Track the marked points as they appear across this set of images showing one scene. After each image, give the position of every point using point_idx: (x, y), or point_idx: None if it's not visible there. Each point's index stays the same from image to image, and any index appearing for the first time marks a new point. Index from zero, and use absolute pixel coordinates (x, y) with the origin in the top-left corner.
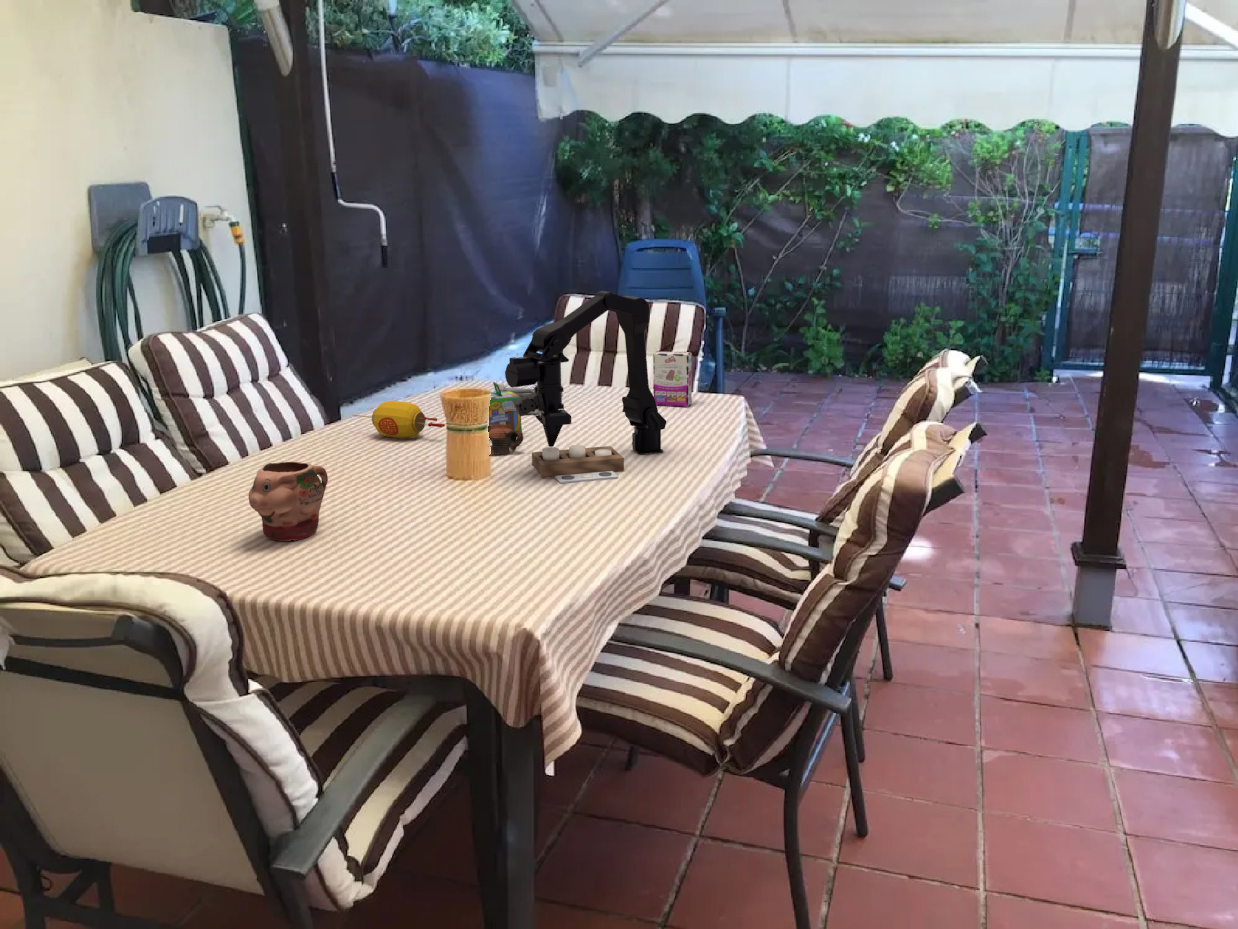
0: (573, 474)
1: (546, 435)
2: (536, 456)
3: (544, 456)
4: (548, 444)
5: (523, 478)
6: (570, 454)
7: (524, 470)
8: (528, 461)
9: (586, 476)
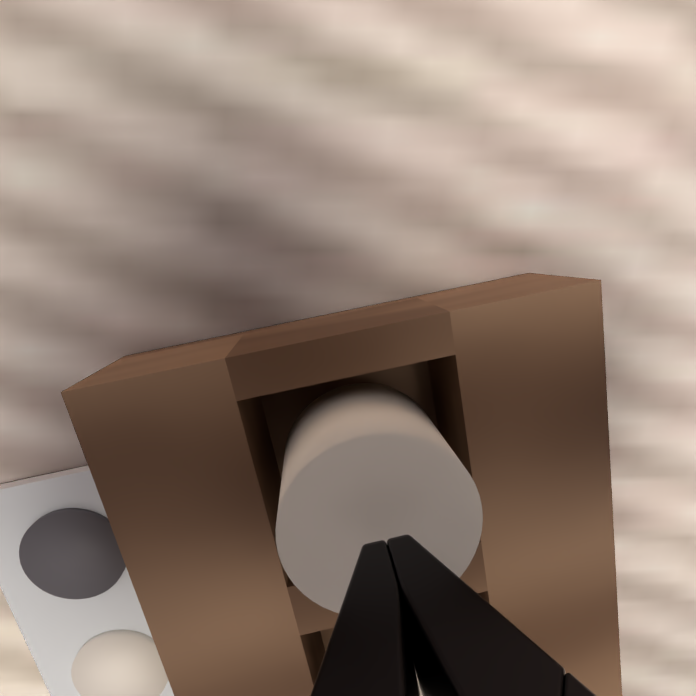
0: None
1: (433, 658)
2: (425, 331)
3: (314, 426)
4: (384, 552)
5: (122, 193)
6: None
7: (378, 205)
8: (642, 242)
9: (90, 673)
